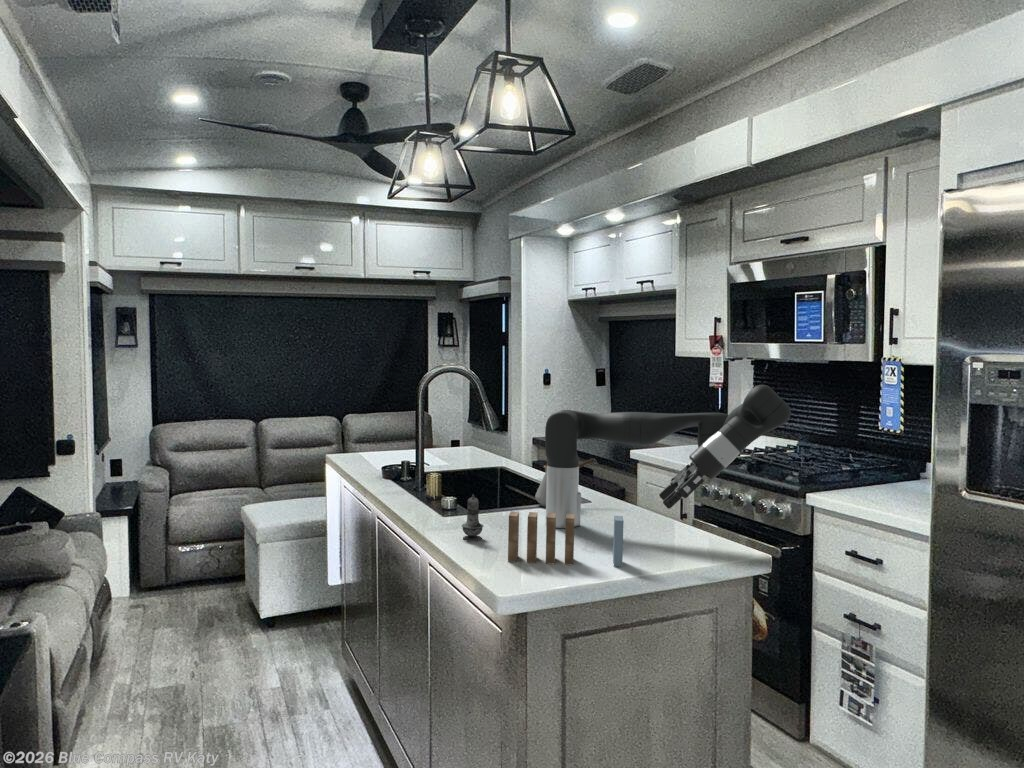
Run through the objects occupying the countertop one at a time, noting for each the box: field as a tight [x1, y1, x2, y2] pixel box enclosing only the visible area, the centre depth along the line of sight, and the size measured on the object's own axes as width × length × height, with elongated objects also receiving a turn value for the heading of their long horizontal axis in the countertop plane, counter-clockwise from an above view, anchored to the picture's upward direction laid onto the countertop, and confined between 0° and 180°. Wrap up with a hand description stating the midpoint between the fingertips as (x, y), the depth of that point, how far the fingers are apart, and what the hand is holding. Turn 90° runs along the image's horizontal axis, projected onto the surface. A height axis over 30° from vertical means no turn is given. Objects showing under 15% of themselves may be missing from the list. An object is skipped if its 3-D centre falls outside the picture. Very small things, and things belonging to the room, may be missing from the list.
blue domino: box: [612, 515, 625, 567], centre depth 176 cm, size 2×5×11 cm, turn 174°
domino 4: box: [564, 514, 575, 565], centre depth 177 cm, size 2×5×11 cm, turn 174°
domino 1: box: [507, 510, 520, 563], centre depth 179 cm, size 2×5×11 cm, turn 174°
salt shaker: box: [461, 493, 485, 542], centre depth 197 cm, size 6×6×12 cm
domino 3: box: [545, 513, 557, 564], centre depth 178 cm, size 2×5×11 cm, turn 174°
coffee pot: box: [534, 457, 598, 508], centre depth 244 cm, size 21×12×15 cm, turn 112°
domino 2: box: [526, 511, 539, 564], centre depth 178 cm, size 2×5×11 cm, turn 174°
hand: (663, 502), depth 175 cm, fingers open, 8 cm apart
